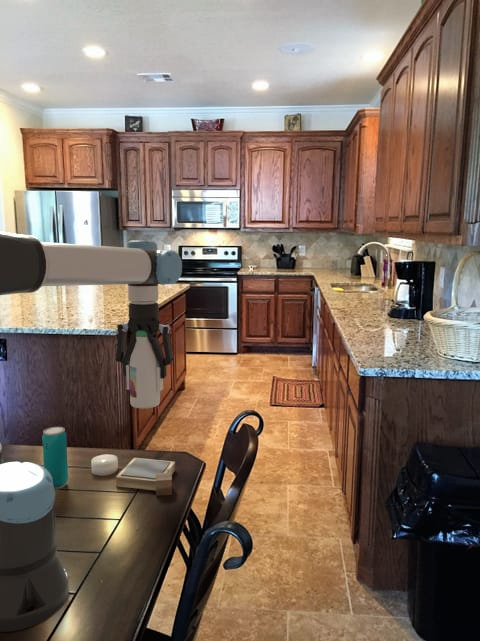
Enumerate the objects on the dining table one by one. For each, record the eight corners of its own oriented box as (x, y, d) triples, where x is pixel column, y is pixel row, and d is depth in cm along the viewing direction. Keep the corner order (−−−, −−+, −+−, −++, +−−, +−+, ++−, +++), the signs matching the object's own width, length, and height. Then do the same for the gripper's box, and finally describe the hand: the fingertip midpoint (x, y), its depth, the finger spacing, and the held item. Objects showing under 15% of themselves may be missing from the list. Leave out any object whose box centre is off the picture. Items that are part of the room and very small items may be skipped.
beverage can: (62, 478, 132) (59, 424, 130) (72, 485, 128) (70, 430, 126) (41, 485, 128) (38, 430, 126) (50, 493, 124) (47, 436, 122)
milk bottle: (163, 400, 133) (162, 327, 130) (155, 409, 126) (154, 332, 123) (135, 399, 134) (134, 326, 131) (126, 408, 127) (124, 331, 124)
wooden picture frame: (160, 490, 126) (160, 480, 126) (116, 486, 128) (115, 475, 128) (175, 470, 138) (175, 460, 137) (134, 466, 140) (134, 456, 140)
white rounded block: (111, 476, 133) (110, 466, 133) (87, 474, 135) (86, 463, 134) (122, 465, 140) (121, 455, 140) (98, 463, 141) (98, 453, 141)
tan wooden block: (172, 494, 124) (171, 479, 124) (155, 495, 124) (155, 480, 123) (171, 487, 128) (171, 472, 128) (156, 488, 128) (155, 473, 127)
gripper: (186, 301, 128) (186, 387, 131) (112, 299, 131) (114, 382, 135) (177, 305, 120) (178, 396, 124) (99, 302, 124) (102, 390, 128)
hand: (145, 389), depth 129 cm, fingers closed on milk bottle, 8 cm apart
